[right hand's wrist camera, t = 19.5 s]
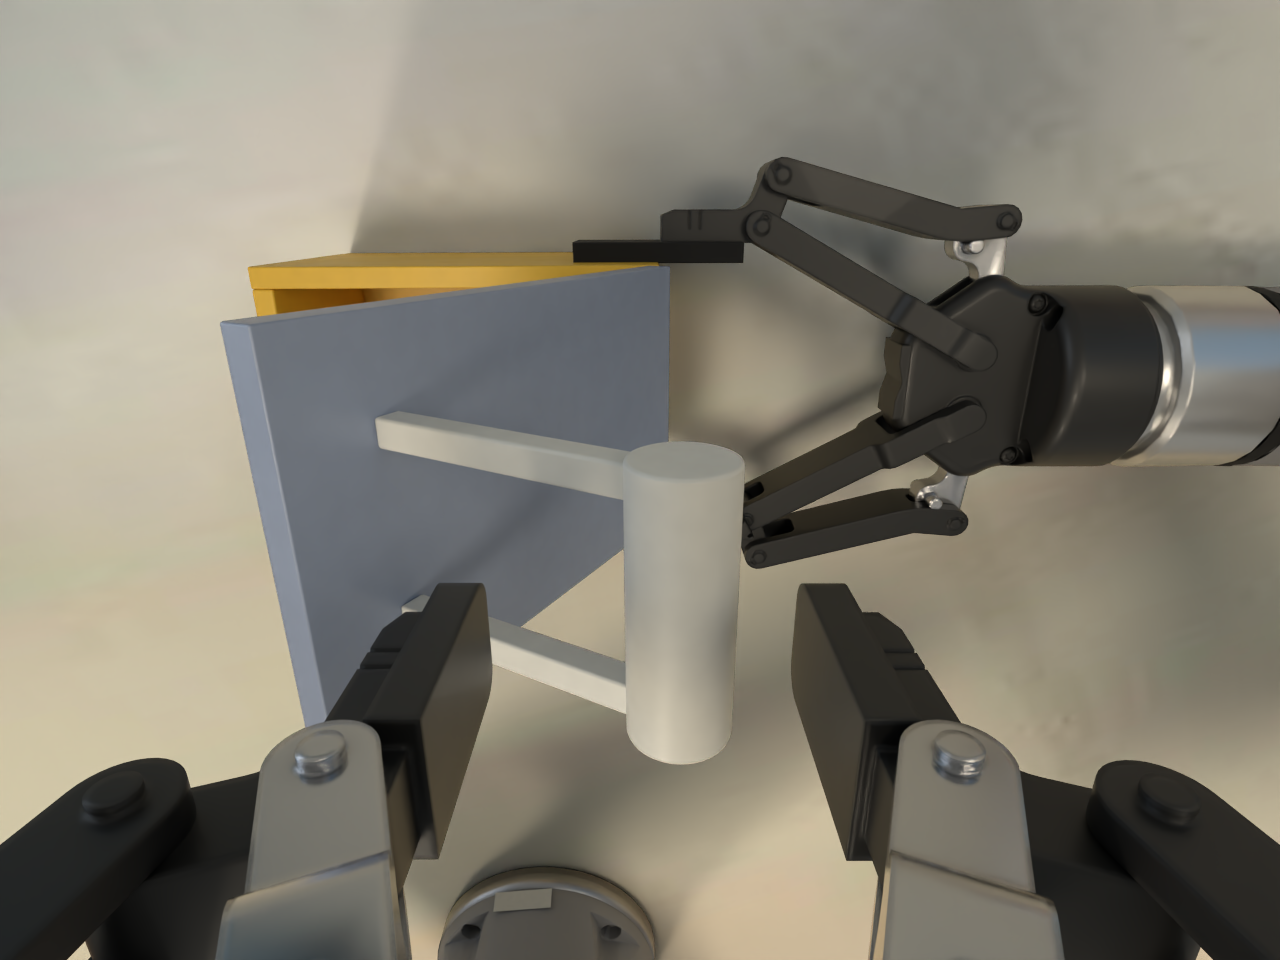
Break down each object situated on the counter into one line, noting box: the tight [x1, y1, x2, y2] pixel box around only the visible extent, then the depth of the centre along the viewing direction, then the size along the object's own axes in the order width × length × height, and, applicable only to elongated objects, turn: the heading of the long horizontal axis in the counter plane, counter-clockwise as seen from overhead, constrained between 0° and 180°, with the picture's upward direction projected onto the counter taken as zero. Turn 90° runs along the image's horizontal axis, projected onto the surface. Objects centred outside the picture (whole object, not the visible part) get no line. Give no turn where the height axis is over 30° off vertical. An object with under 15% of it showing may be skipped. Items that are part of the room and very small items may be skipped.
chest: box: [248, 252, 659, 317], centre depth 32 cm, size 15×10×10 cm, turn 90°
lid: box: [220, 266, 745, 765], centre depth 19 cm, size 16×10×9 cm
